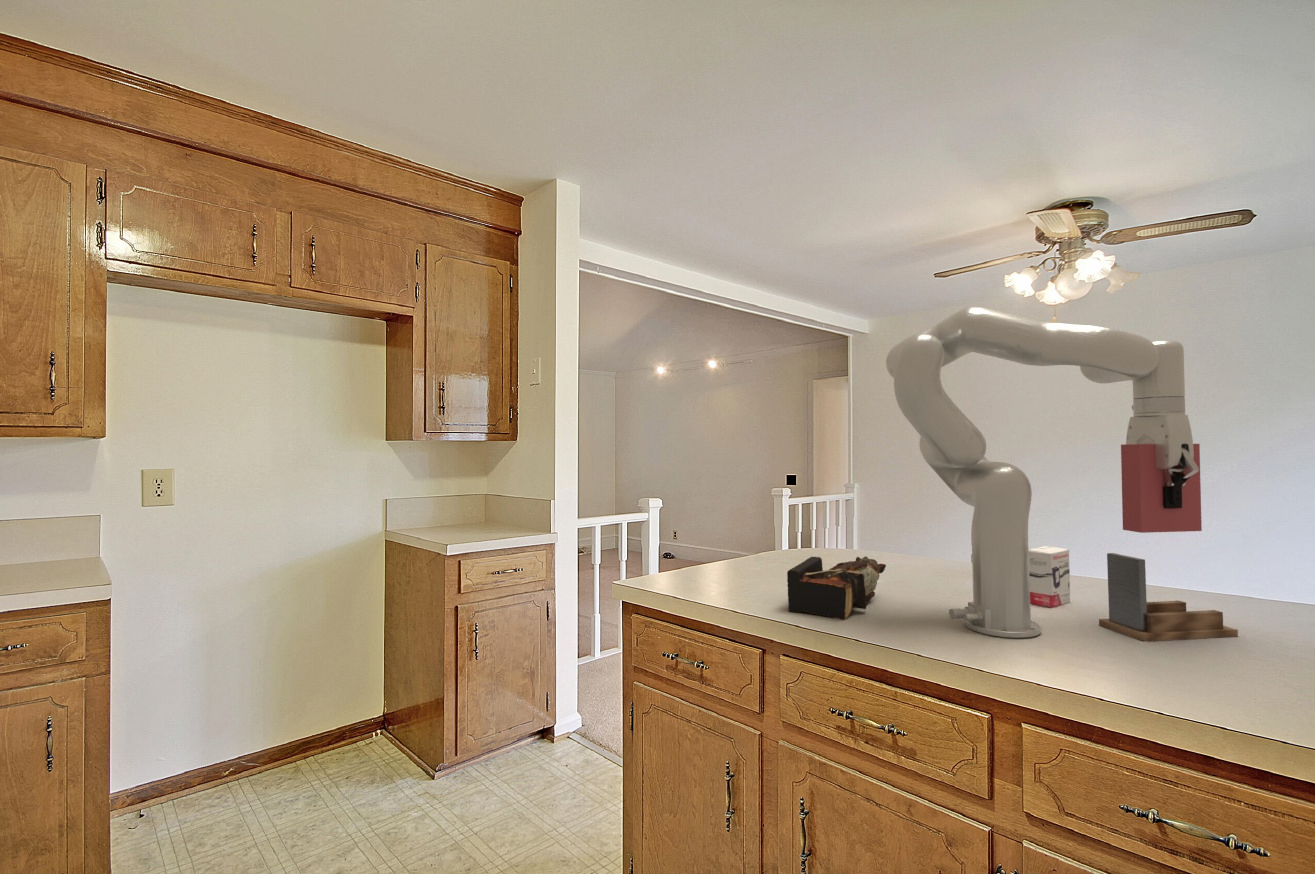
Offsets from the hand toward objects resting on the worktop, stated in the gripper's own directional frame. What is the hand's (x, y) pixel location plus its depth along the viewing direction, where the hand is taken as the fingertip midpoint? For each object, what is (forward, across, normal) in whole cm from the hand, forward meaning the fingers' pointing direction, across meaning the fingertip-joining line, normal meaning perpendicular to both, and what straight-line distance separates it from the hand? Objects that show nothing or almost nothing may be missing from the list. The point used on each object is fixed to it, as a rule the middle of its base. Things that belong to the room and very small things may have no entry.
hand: (1161, 505), depth 116 cm
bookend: (+24, -29, -50) cm, 63 cm away
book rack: (+23, 0, 0) cm, 23 cm away
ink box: (+23, -22, -6) cm, 32 cm away
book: (+4, 0, 0) cm, 4 cm away
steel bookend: (+23, 0, -7) cm, 24 cm away
